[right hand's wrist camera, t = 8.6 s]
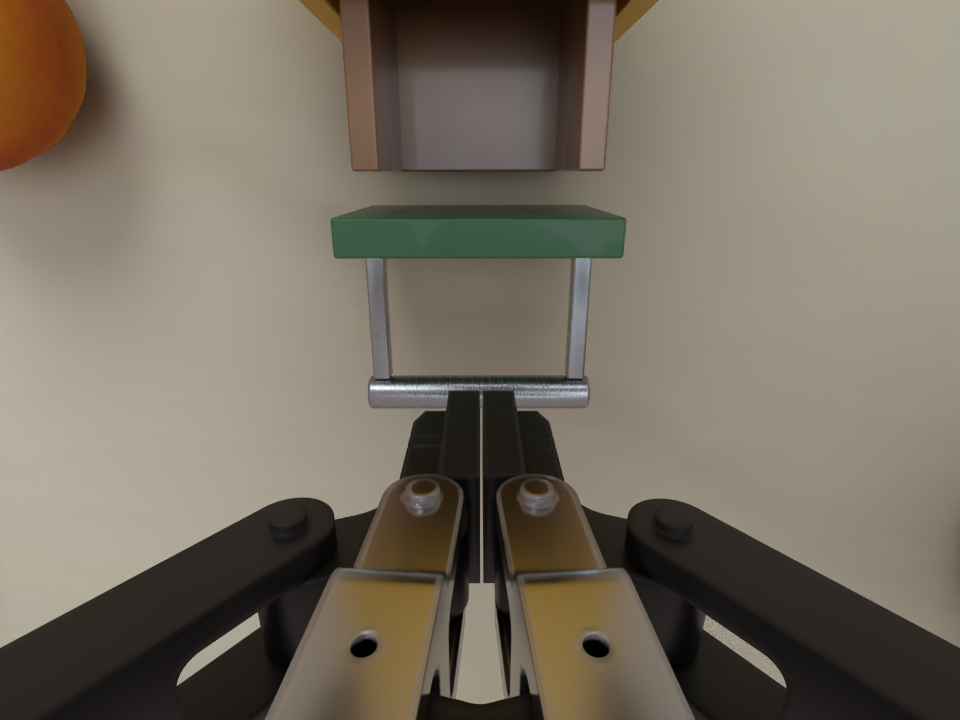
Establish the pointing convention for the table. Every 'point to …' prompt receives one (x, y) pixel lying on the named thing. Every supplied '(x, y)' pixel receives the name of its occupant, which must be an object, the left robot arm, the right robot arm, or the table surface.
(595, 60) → the drawer
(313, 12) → the cabinet
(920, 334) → the table surface
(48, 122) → the fruit
